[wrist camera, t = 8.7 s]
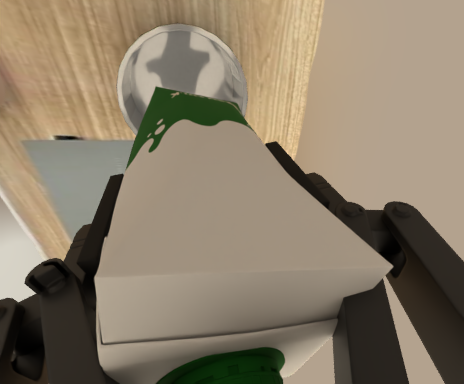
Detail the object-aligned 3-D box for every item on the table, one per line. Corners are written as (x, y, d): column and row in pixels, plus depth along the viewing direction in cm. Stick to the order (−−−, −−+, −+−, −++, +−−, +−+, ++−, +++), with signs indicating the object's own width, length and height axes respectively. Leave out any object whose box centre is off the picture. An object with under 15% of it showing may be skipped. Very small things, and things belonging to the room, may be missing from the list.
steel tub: (105, 34, 29) (90, 36, 24) (229, 15, 31) (241, 13, 25) (148, 148, 39) (144, 168, 34) (240, 129, 41) (251, 146, 35)
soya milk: (140, 170, 22) (73, 519, 7) (144, 68, 18) (-71, 454, 2) (226, 178, 25) (322, 440, 9) (250, 92, 20) (524, 331, 5)
